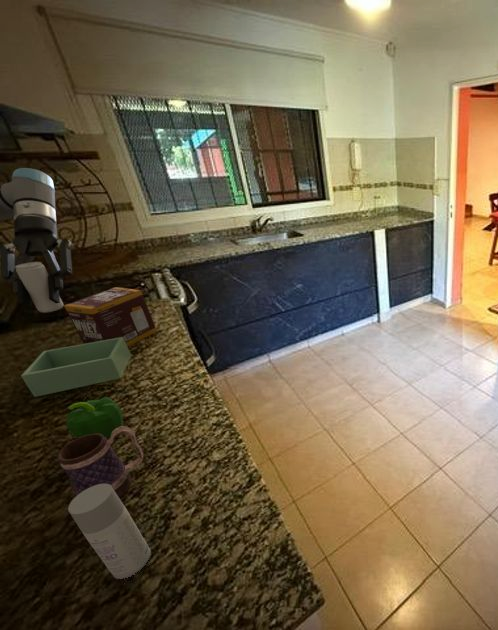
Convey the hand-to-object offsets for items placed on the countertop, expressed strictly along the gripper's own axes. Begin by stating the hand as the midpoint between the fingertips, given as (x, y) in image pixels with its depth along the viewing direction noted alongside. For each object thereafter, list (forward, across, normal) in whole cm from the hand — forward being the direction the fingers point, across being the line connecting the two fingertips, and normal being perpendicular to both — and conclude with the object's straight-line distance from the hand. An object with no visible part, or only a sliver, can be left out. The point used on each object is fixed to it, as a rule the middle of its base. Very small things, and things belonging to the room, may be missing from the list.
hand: (39, 302), depth 84 cm
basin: (+16, +2, +16) cm, 22 cm away
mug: (+49, +18, -18) cm, 55 cm away
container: (+61, +23, -30) cm, 72 cm away
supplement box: (+3, +6, +29) cm, 30 cm away
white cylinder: (0, 0, +5) cm, 5 cm away
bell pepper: (+37, +12, -6) cm, 40 cm away
